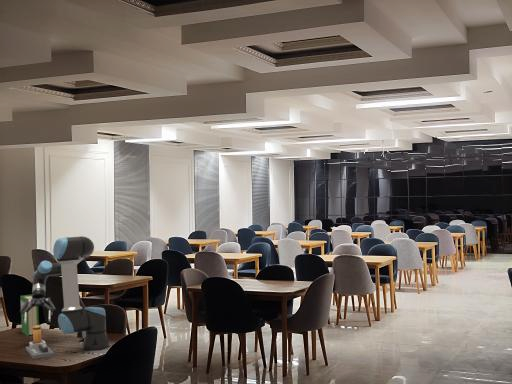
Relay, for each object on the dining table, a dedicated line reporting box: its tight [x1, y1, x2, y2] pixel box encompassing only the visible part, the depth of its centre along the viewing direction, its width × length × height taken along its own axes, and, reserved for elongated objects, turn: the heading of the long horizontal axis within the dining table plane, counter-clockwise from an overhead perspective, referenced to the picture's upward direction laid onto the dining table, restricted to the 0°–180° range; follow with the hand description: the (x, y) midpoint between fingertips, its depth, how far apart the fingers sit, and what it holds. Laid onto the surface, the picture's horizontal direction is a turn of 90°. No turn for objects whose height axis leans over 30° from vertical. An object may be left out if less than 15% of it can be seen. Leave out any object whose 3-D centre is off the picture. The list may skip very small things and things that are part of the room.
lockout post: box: [32, 324, 43, 344], centre depth 382 cm, size 4×4×12 cm
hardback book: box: [19, 294, 40, 337], centre depth 434 cm, size 18×7×24 cm, turn 31°
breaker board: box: [25, 339, 55, 360], centre depth 375 cm, size 26×11×6 cm, turn 28°
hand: (37, 321), depth 390 cm, fingers open, 13 cm apart
